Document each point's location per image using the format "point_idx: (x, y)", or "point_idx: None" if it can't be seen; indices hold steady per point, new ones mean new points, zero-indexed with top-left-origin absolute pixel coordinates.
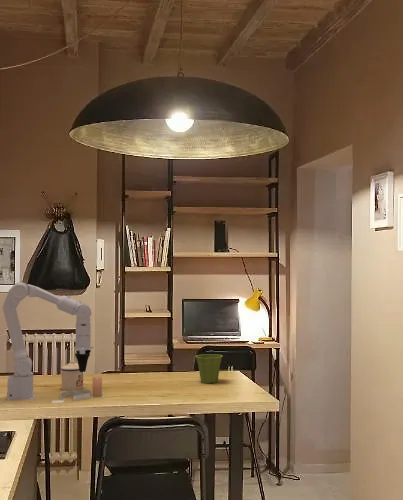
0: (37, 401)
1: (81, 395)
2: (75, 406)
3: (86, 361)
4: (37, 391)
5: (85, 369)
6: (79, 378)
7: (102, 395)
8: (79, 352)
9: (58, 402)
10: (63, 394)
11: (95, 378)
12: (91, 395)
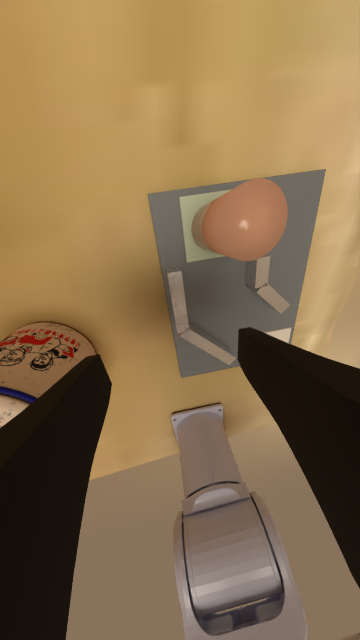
0: (234, 390)
1: (270, 287)
2: (328, 285)
3: (352, 374)
4: (110, 425)
5: (264, 333)
6: (48, 357)
7: (202, 202)
8: (43, 626)
9: (285, 341)
10: (228, 350)
11: (282, 234)
12: (197, 257)
